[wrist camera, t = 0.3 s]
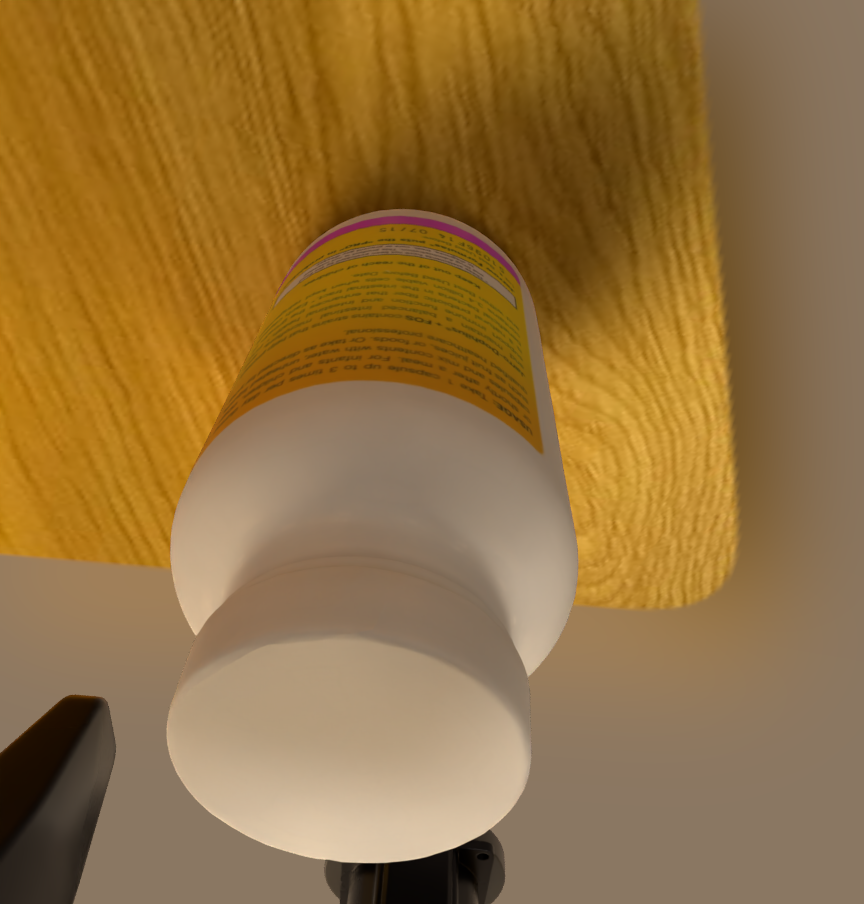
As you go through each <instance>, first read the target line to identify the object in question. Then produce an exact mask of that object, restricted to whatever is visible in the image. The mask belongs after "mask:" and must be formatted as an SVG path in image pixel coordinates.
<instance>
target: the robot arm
mask: <svg viewBox="0 0 864 904" xmlns="http://www.w3.org/2000/svg"><path fill="white" fill-rule="evenodd" d="M115 753H116V744H115V738H114V732H113V727H112V721H111V717H110V711H109V706H108V703H107V701H106V700H105V699H104V698H102V697H96V696H85V695H69V696H67V697H65V698H63V699H62V700H60V701H59V702H58V703H57V704H56V705H54V707H52V708H51V709H50V710H49V711H48V712H47V713H46V714H44V715H43V716H42V717H41V718H40V719H39V720H37V721H36V722H35V723H34V724H33V725H32V726H31V727H29V728H28V729H27V730H26V731H25V732H24V733H23V734H22V735H21V736H19V737H18V738H17V739H16V740H15V741H14V742H13V743H11V744H10V745H9V746H8V747H7V748H6V749H4V750H3V751H2V752H1V753H0V904H73V902H74V899H75V896H76V892H77V889H78V886H79V883H80V879H81V876H82V872H83V869H84V865H85V862H86V858H87V855H88V852H89V848H90V844H91V841H92V838H93V834H94V831H95V827H96V824H97V820H98V817H99V814H100V810H101V807H102V803H103V800H104V796H105V793H106V789H107V786H108V782H109V779H110V775H111V772H112V768H113V765H114V759H115ZM493 862H494V846H493V845H492V844H491V843H489V842H486V841H476V840H471V841H469V842H467V843H465V844H462V845H460V846H458V847H456V848H453V849H450V850H447V851H444V852H440V853H437V854H434V855H431V856H428V857H424V858H419V859H414V860H408V861H398V862H388V863H351V862H341V884H340V904H485V899H486V895H487V890H488V885H489V881H490V876H491V871H492V867H493Z"/></svg>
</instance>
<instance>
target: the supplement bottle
mask: <svg viewBox="0 0 864 904" xmlns="http://www.w3.org/2000/svg"><path fill="white" fill-rule="evenodd" d="M170 557H171V569H172V576H173V581H174V585H175V590H176V593H177V596H178V600H179V602H180V605H181V608H182V610H183V613H184V615H185V617H186V619H187V621H188V623H189V625H190V627H191V629H192V630H193V632H194V634H195V635H196V638H195V640H194V643H193V645H192V648H191V650H190V652H189V655H188V658H187V660H186V663H185V666H184V669H183V671H182V674H181V677H180V680H179V683H178V686H177V688H176V691H175V694H174V697H173V700H172V703H171V706H170V709H169V715H168V720H167V732H166V733H167V743H168V749H169V753H170V757H171V760H172V763H173V765H174V767H175V770H176V772H177V774H178V776H179V777H180V779H181V780H182V782H183V783H184V785H185V787H186V788H187V789H188V790H189V792H190V793H191V794H192V795H193V796H194V798H195V799H196V800H197V801H198V802H199V803H200V804H201V805H202V806H203V807H205V808H206V809H207V810H208V811H209V812H210V813H211V814H213V815H214V816H216V817H217V818H219V819H220V820H222V821H223V822H225V823H226V824H228V825H229V826H231V827H232V828H234V829H236V830H238V831H239V832H241V833H243V834H245V835H247V836H249V837H251V838H253V839H255V840H257V841H259V842H261V843H264V844H266V845H268V846H272V847H275V848H278V849H281V850H284V851H287V852H291V853H294V854H298V855H302V856H306V857H311V858H316V859H327V860H333V861H339V862H351V863H388V862H398V861H408V860H414V859H419V858H424V857H428V856H431V855H434V854H437V853H440V852H444V851H447V850H450V849H453V848H456V847H458V846H460V845H462V844H465V843H467V842H469V841H471V840H473V839H475V838H477V837H479V836H481V835H483V834H484V833H485V832H487V831H488V830H489V829H491V828H492V827H493V826H494V825H496V824H497V823H498V822H499V821H500V820H501V819H502V818H503V817H504V816H505V815H506V814H508V812H509V811H510V810H511V809H512V808H513V806H514V805H515V803H516V802H517V800H518V798H519V797H520V795H521V794H522V792H523V790H524V788H525V785H526V782H527V780H528V776H529V771H530V765H531V754H532V745H531V723H530V722H531V720H530V688H529V682H528V677H529V676H530V675H531V674H532V673H533V672H534V671H535V670H536V669H537V668H538V666H539V665H540V664H541V663H542V662H543V660H544V659H545V658H546V657H547V655H548V654H549V653H550V651H551V650H552V648H553V647H554V645H555V644H556V642H557V640H558V638H559V636H560V635H561V633H562V631H563V629H564V627H565V624H566V622H567V620H568V617H569V614H570V611H571V608H572V605H573V602H574V598H575V593H576V586H577V577H578V548H577V540H576V535H575V529H574V523H573V518H572V512H571V507H570V502H569V497H568V491H567V486H566V481H565V476H564V470H563V464H562V458H561V453H560V447H559V441H558V435H557V430H556V424H555V418H554V413H553V407H552V401H551V396H550V390H549V385H548V379H547V373H546V368H545V362H544V357H543V351H542V344H541V338H540V332H539V327H538V321H537V316H536V312H535V307H534V303H533V300H532V297H531V295H530V292H529V290H528V288H527V285H526V283H525V281H524V279H523V278H522V276H521V274H520V273H519V271H518V270H517V268H516V267H515V265H514V264H513V263H512V261H511V260H510V259H509V258H508V257H507V255H506V254H505V253H504V252H503V251H502V250H501V249H500V248H499V247H498V246H497V245H496V244H494V243H493V242H492V241H491V240H490V239H489V238H487V237H486V236H484V235H483V234H482V233H480V232H479V231H477V230H475V229H474V228H472V227H470V226H468V225H466V224H465V223H462V222H460V221H458V220H455V219H453V218H450V217H447V216H444V215H441V214H437V213H433V212H428V211H421V210H413V209H391V210H381V211H376V212H371V213H367V214H363V215H360V216H358V217H355V218H352V219H349V220H347V221H345V222H343V223H340V224H338V225H337V226H335V227H333V228H332V229H330V230H328V231H327V232H325V233H324V234H323V235H321V236H320V237H318V238H317V239H316V240H315V241H313V242H312V243H311V244H310V245H309V246H308V247H307V248H306V249H305V250H304V251H303V252H302V254H301V255H300V256H299V257H298V258H297V260H296V261H295V262H294V263H293V265H292V266H291V268H290V270H289V271H288V273H287V275H286V277H285V279H284V280H283V282H282V284H281V286H280V288H279V290H278V291H277V294H276V296H275V298H274V300H273V303H272V305H271V307H270V309H269V311H268V313H267V315H266V317H265V319H264V321H263V324H262V326H261V328H260V330H259V332H258V334H257V336H256V338H255V341H254V343H253V345H252V347H251V349H250V351H249V354H248V356H247V358H246V360H245V362H244V364H243V366H242V368H241V370H240V372H239V374H238V377H237V379H236V381H235V383H234V385H233V387H232V389H231V391H230V393H229V395H228V398H227V400H226V402H225V404H224V406H223V408H222V410H221V412H220V414H219V416H218V418H217V420H216V422H215V424H214V426H213V428H212V430H211V432H210V434H209V436H208V438H207V440H206V442H205V444H204V446H203V448H202V450H201V452H200V454H199V456H198V458H197V460H196V462H195V464H194V466H193V469H192V471H191V473H190V476H189V478H188V480H187V483H186V485H185V487H184V490H183V492H182V494H181V497H180V499H179V502H178V505H177V508H176V511H175V516H174V521H173V526H172V533H171V549H170Z"/></svg>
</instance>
